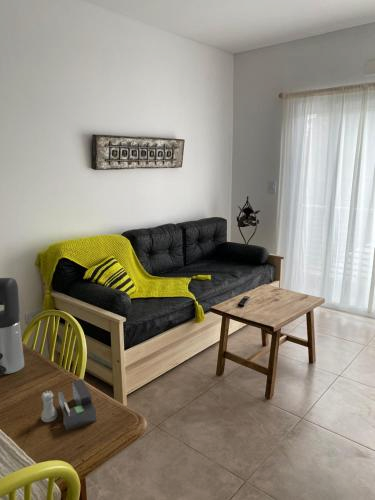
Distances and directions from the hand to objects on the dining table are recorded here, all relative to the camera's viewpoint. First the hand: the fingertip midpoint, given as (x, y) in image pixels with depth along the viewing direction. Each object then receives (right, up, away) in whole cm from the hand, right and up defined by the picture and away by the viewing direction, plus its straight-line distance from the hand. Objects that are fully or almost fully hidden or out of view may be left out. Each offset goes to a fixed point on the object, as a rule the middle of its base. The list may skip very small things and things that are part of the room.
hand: (2, 365), depth 104 cm
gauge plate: (+14, -16, +9) cm, 23 cm away
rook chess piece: (+10, -18, +9) cm, 22 cm away
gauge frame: (+16, -17, +11) cm, 26 cm away
